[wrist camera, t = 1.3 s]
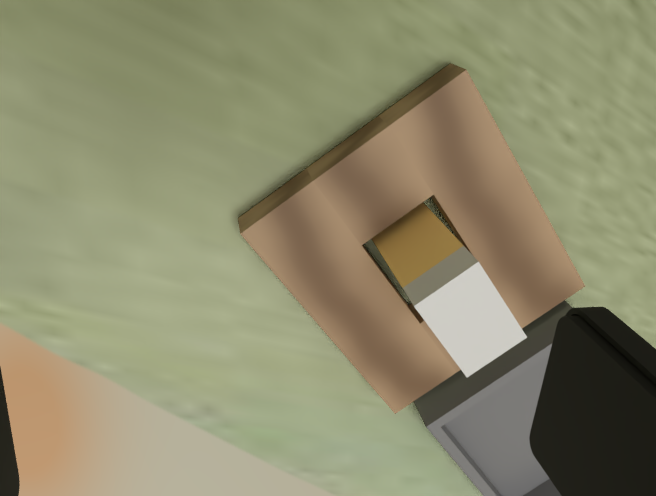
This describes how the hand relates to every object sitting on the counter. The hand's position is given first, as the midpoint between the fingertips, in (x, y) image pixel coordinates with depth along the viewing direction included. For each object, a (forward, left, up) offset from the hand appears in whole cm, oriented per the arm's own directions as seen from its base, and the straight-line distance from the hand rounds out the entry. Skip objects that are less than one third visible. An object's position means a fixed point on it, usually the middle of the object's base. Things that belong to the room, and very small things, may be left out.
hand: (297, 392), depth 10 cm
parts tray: (-4, +35, -28) cm, 45 cm away
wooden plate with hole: (-4, +16, -28) cm, 32 cm away
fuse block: (-4, +16, -28) cm, 32 cm away
